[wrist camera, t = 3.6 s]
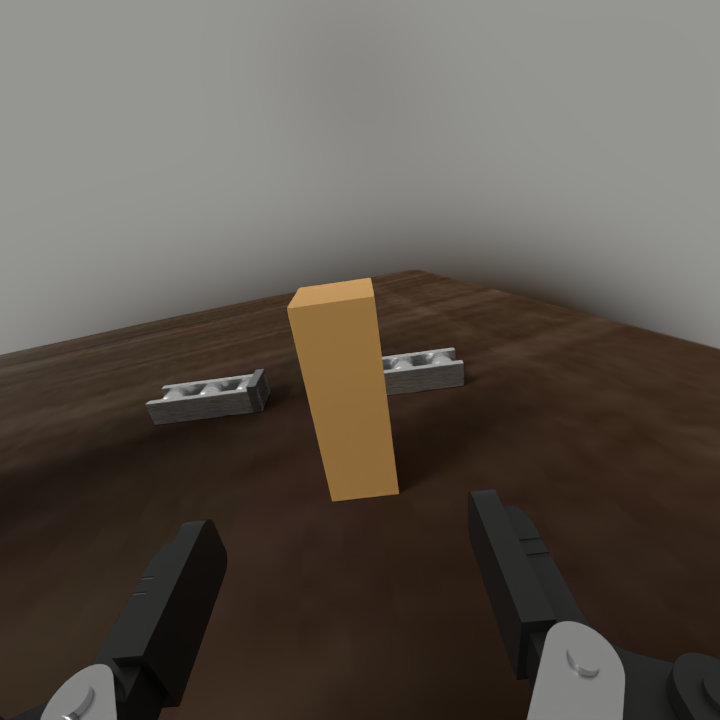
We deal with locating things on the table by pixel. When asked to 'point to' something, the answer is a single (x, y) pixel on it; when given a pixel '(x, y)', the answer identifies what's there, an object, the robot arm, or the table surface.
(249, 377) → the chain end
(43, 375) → the table surface
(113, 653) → the robot arm
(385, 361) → the chain end
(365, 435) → the tall wooden pillar
